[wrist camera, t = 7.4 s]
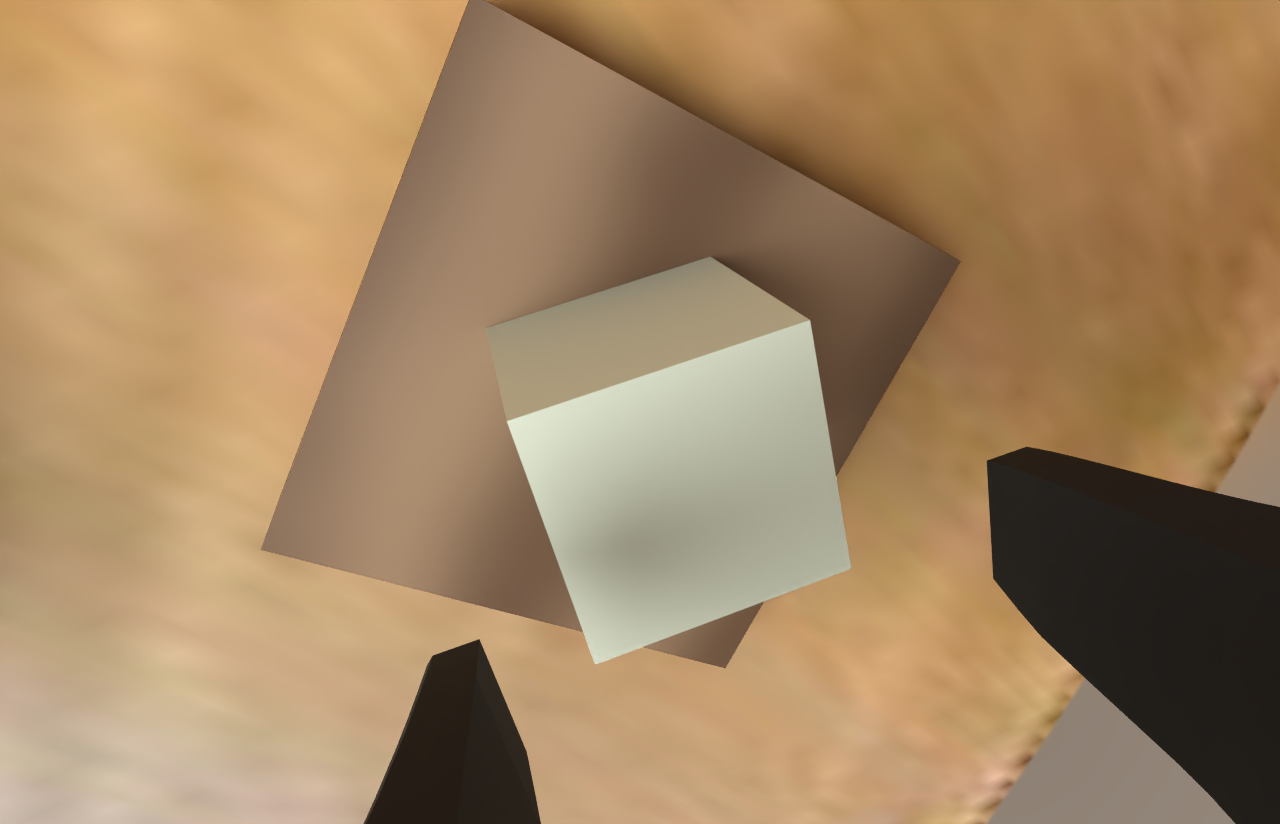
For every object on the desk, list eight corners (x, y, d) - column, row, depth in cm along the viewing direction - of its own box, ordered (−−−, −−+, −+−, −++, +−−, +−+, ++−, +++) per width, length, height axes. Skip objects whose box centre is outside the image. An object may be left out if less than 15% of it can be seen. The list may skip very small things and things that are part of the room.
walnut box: (893, 238, 21) (960, 261, 19) (692, 603, 24) (725, 667, 22) (465, 7, 17) (472, -7, 14) (283, 486, 20) (261, 550, 17)
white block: (710, 256, 17) (810, 319, 13) (753, 454, 19) (850, 568, 15) (485, 328, 17) (506, 421, 12) (555, 524, 19) (594, 665, 14)
